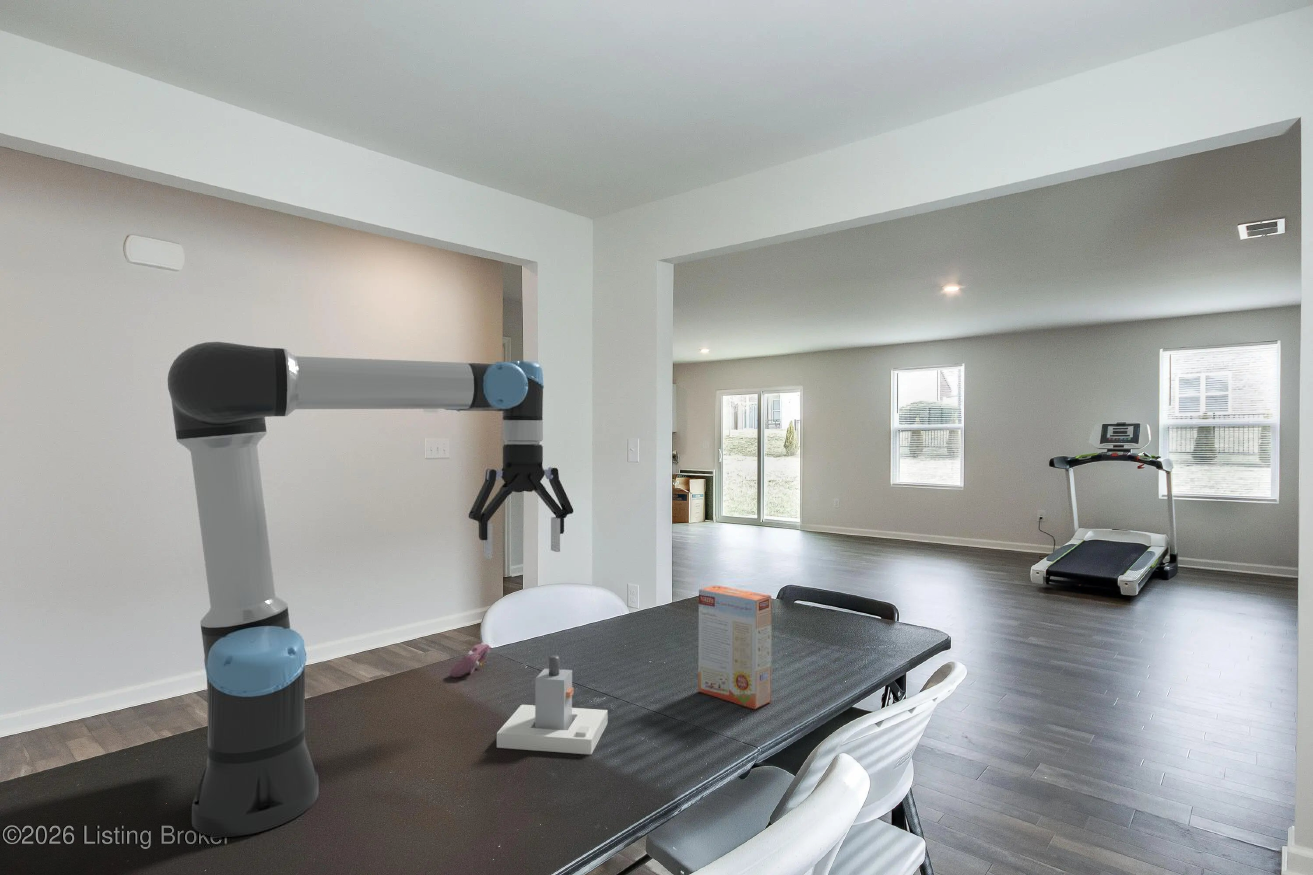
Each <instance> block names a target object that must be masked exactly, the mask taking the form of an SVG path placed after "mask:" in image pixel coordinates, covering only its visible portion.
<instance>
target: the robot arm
mask: <svg viewBox="0 0 1313 875" xmlns="http://www.w3.org/2000/svg"><path fill="white" fill-rule="evenodd" d="M544 386H545V385H544V374H543V368H542V365H541V364H540V363H538V362H535V361H525V360H524V361H523V360H521V361H520V360H516V361H515V360H514V361H506V362H503V361H497V362H495V363H480V362H478V363H476V362H473V363H472V362H471V363H470V362H469V363H468V362H454V361H453V362H452V361H432V360H431V361H427V360H426V361H424V360H403V359H401V360H400V359H380V358H379V359H377V358H375V359H374V358H373V359H372V358H353V357H351V358H349V357H347V358H346V357H326V356H325V357H323V356H320V357H319V356H298V355H297V356H296V355H293V354H292V353H291V352H290V351H289V350H288V349H287V348H280V347H279V348H277V347H264V346H263V347H262V346H255V345H254V346H253V345H247V344H246V345H245V344H239V343H233V342H223V341H222V342H221V341H209V342H208V341H207V342H202V343H198V344H195V345H193V346H191V347H187V349H185V350H184V351H182V352H181V353H179V355H178V356H176V358H175V359H174V360H173V362H172V363H171V366H170V367H169V371H168V374H167V390H168V392H169V396H170V399H171V406H172V414H173V422H174V431H175V436H176V442H177V443H178V444H180V445H181V446H183V447H184V448H186V449H187V450H188V451H189V452H190V458H191V465H192V474H193V480H194V487H195V496H196V503H197V511H198V518H199V527H200V533H201V534H200V536H201V542H202V552H203V558H204V559H203V560H204V566H205V574H206V575H205V576H206V581H207V590H208V597H209V605H210V608H209V610H208V612H206V614H205V615H204V616H203V617H202V619H200V621H199V622H200V630H201V638H202V646H203V654H204V660H203V661H204V668H205V673H206V691H207V692H206V694H207V760H206V764H205V767H204V769H203V773H202V775H201V778H200V782H199V784H198V787H197V791H196V794H195V796H194V798H193V801H192V805H191V826H192V828H193V829H194V830H195V831H196V832H198V833H199V834H201V835H205V836H209V837H218V838H221V837H222V838H231V837H232V838H233V837H240V836H247V835H252V834H255V833H260V832H265V831H268V830H270V829H273V828H277V827H279V826H280V825H284V824H286V823H288V822H290V821H292V820H294V819H296V818H297V817H299V816H301V815H302V814H304V813H305V812H306V811H307V810H308V809H310V808H311V807H313V805H314V803H315V802H316V801H317V799H318V797H319V774H318V773H317V770H316V769H315V768H314V765H313V764H314V763H313V761H312V757H311V755H310V754H311V753H310V751H309V749H308V746H307V743H306V737H305V735H306V730H305V729H306V723H305V720H306V706H305V705H306V704H305V702H306V701H305V700H306V695H305V694H306V689H305V688H306V686H305V684H306V683H305V682H306V676H305V674H306V662H307V651H306V648H305V642H304V639H303V637H302V635H301V634H300V633H299V632H297V631H296V630H294V629H293V628H291V623H290V614H289V607H288V603H287V602H286V601H285V600H283V599H281V598H280V597H278V596H277V595H276V590H275V582H274V581H275V580H274V576H273V575H274V573H273V567H272V558H271V551H270V550H271V549H270V541H269V535H268V532H269V531H268V525H267V519H266V518H267V516H266V510H265V509H266V508H265V500H264V491H263V484H262V475H261V467H260V459H259V452H258V444H259V442H260V441H262V439H263V438H264V437H265V436H266V435H267V433H268V432H267V426H266V418H267V417H269V418H271V417H288V416H289V415H290V414H292V412H294V411H295V410H418V409H419V410H421V409H422V410H434V409H435V410H437V409H439V410H445V411H456V412H459V413H460V412H465V411H466V412H502V440H503V441H504V442H505V443H504V444H503V446H502V468H501V470H497V469H494V468H487V469H486V471H485V475H484V476H485V477H484V478H485V479H484V481H483V484H482V486H481V488H480V490H479V492H478V494H477V496H476V499H475V500H474V502H473V505H472V507H471V509H470V511H469V513H468V519H470V520H473V521H476V522H477V523H478V538H479V540H480V541H483V557H484V558H486V559H488V560H489V559H490V560H491V559H493V522H490V520H491V518H492V517H493V516H494V514H495V513H496V512H497V511H498V510H499V508H500V507H501V505H502V504H503V503H504V502H505V501H506V500H507V498H508V497H509V496H510V495H511V494H512V493H513V492H514V493H522V492H527V493H528V492H529V493H532V492H535V493H536V494H537V496H539V498H540V499H541V500H542V502H543V503H544V504H545V505H546V506H547V508H548V510H550V511H551V513H552V514H553V515H554V516H551V517H550V551H553V552H555V553H560V552H561V535H563V534H564V532H565V518H567V517H568V515H572V514H573V513H574V507H573V505H572V504H571V502H570V499H569V497H568V495H567V493H566V491H565V489H564V487H563V485H562V482H561V480H560V476H559V475H560V474H559V469H558V468H557V467H553V466H552V467H548V468H544V467H543V460H544V459H543V458H544V452H543V450H544V446H543V445H542V444H541V443H540V442H543V440H544V423H543V422H544V421H543V415H544V412H543V411H544V410H543V408H544V405H543V404H544V388H545V387H544ZM544 477H545V478H546V479H547V480H548V482H549V484H550V486H551V488H552V490H553V493H554V495H555V497H556V499H557V501H556V500H555V499H554V498H553V496H552V495H551V494H550V493H549V491H548V490H547V489H546V487H545V485H544V484H543V483H542V482H541V481H543V479H544ZM500 478H501V479H502V480H503V481H504V482H503V484H502V485H501V487H500V488H499V490H498V492H496V494H495V496H494V497H493V498H492V499H491V500H490V502H489V503H488V504H487V502H488V499H489V498H490V495H491V493H492V491H493V489H494V486H495V485H496V482H498V481H499V479H500ZM557 502H558V503H557ZM486 504H487V505H486Z"/></svg>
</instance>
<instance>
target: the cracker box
mask: <svg viewBox="0 0 1313 875" xmlns="http://www.w3.org/2000/svg"><path fill="white" fill-rule="evenodd" d="M697 656H698V658H697V659H698V661H697V662H698V664H697V665H698V676H697V677H698V678H697V679H698V684H697V685H698V687H697V688H698V689H697V690H698V692H699V693H702V694H706V695H709V696H712V697H714V698H715V697H716V698H718V699H721V700H725V701H727V702H731V703H733V702H734V704H737V705H739V706H743V707H746V706H747V707H746V708H749V709H752V710H756V709H759V708H761V707H763V706H765V705H767V704H769V703H771V702H772V595H771V594H765V593H759V592H753V591H749V590H743V589H739V588H732V587H727V586H723V585H722V586H721V585H716V584H715V585H710V586H707V587H702V588H700V589H698V655H697Z"/></svg>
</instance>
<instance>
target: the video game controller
mask: <svg viewBox="0 0 1313 875" xmlns="http://www.w3.org/2000/svg"><path fill="white" fill-rule="evenodd" d="M491 651H492V647H491V646H490V645H489V644H486V643H483V642H481V643H478V644H475V645H473V646H471V648H470V650H469V651H468V652H467V653H466V654H465V655H464V657H463V658H462V659H461V660H460V661H459V662H458V663H456V664H455V665H454V666H453V667H452V668H451V669H450V676H451V677H452V678H455V679H456V678H461V677H462V676H465V675H466V674H468V675H472V674H474V672H475V670H479V669H480V668H481V667H482V666H483V663H484V661H485V660H486V659H487V657H488V656H489V655H490V653H491Z"/></svg>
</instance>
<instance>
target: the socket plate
mask: <svg viewBox="0 0 1313 875" xmlns="http://www.w3.org/2000/svg"><path fill="white" fill-rule="evenodd" d="M608 711H609V710H608V709H596V708H595V709H594V708H583V707H582V708H579V707H572V724H571V726H570V727H569V729H568V730H554V729H540V728H535V705H533V704H521V705H519V707H518V708H517V709H516V711H515V712H514V713H513V714H512V715H511V716H510V717H509V719H507V721H506V722H505V723H504V724H503V725H502V727H501V728H500V729H499V730H498V731H497V733H496V748H498V749H511V750H512V749H513V750H524V751H525V750H527V751H537V752H539V751H540V752H553V753H554V752H555V753H565V754H567V753H568V754H580V755H592V754H593V752H594V751H595V749H596V746H597V744H598V743H599V740H600V739H601V737H602V735H603V733H604V731H605V730H606V727H607V725H608V723H609V721H608V720H609V718H608Z"/></svg>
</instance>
